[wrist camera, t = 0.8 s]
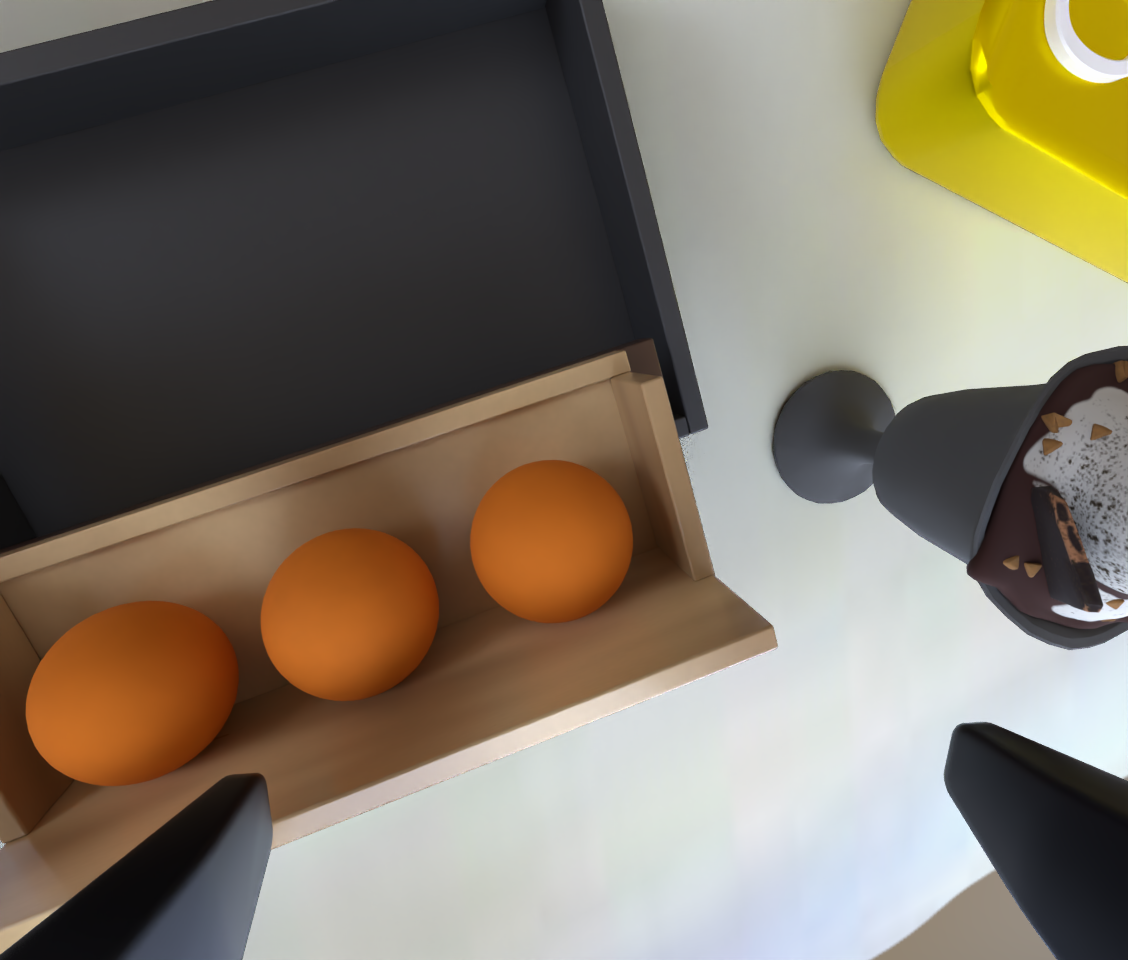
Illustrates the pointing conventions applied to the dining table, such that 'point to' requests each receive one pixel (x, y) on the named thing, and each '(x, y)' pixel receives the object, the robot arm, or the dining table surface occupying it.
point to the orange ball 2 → (349, 614)
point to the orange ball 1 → (132, 693)
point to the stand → (639, 360)
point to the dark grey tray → (305, 234)
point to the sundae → (989, 483)
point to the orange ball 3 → (551, 541)
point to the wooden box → (447, 672)
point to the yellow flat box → (1019, 114)
